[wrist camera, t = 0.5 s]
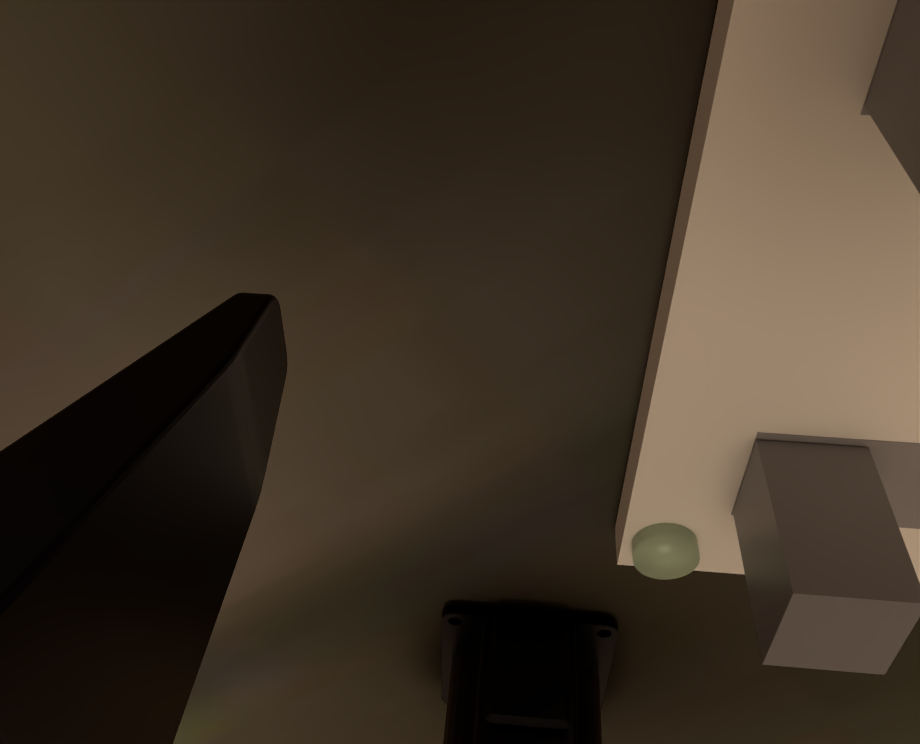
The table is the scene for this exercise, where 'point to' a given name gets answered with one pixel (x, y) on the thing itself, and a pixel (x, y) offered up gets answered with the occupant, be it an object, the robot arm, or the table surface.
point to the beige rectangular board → (779, 285)
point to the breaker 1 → (824, 559)
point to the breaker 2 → (900, 89)
